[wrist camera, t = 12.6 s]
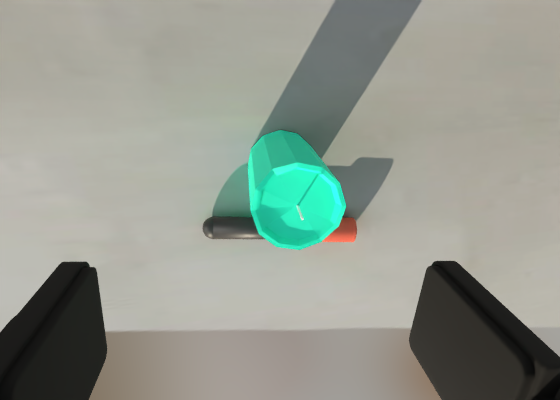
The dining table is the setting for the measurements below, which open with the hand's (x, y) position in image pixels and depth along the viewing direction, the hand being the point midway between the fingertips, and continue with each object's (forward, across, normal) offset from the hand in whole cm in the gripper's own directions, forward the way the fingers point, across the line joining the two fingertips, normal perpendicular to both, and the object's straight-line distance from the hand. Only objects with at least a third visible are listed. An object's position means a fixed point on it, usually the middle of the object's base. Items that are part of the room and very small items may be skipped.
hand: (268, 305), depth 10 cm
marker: (+22, -3, +8) cm, 24 cm away
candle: (+23, -3, +2) cm, 23 cm away
